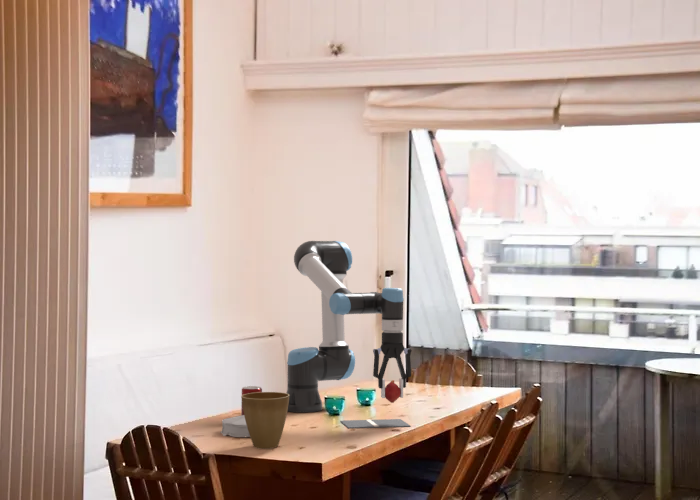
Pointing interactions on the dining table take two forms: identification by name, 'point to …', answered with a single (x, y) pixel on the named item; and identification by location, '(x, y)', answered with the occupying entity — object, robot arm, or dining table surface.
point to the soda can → (249, 390)
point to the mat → (375, 423)
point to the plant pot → (265, 417)
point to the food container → (235, 427)
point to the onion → (392, 392)
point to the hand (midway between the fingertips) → (392, 397)
